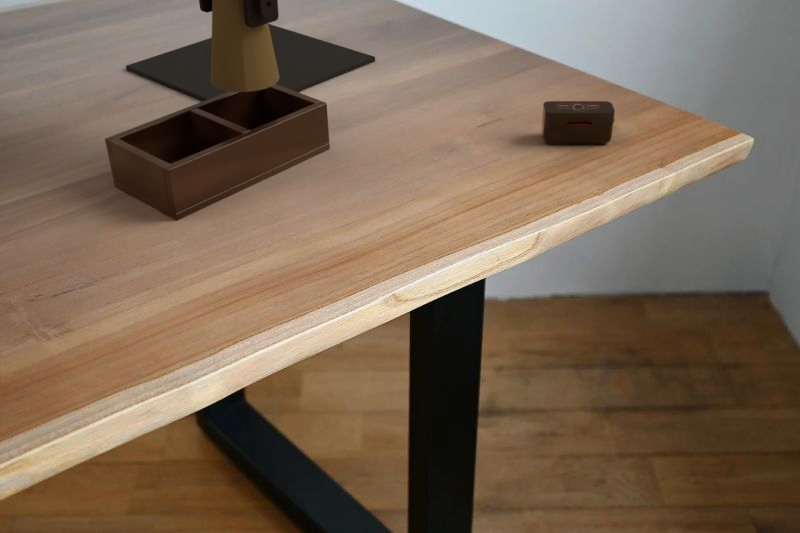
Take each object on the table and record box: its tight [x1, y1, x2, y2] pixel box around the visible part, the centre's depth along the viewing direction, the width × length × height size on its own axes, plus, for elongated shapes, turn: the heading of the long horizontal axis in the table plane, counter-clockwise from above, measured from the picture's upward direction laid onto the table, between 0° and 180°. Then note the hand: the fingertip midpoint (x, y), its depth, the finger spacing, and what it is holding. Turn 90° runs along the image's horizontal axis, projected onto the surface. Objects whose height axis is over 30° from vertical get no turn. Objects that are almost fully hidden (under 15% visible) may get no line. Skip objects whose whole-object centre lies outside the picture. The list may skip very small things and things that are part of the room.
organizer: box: [104, 84, 331, 221], centre depth 81 cm, size 9×17×5 cm, turn 138°
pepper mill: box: [211, 0, 279, 92], centre depth 78 cm, size 6×6×11 cm
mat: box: [125, 23, 376, 102], centre depth 103 cm, size 20×20×1 cm
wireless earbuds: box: [541, 100, 616, 144], centre depth 85 cm, size 5×7×3 cm, turn 87°
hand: (239, 13), depth 77 cm, fingers closed on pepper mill, 5 cm apart
